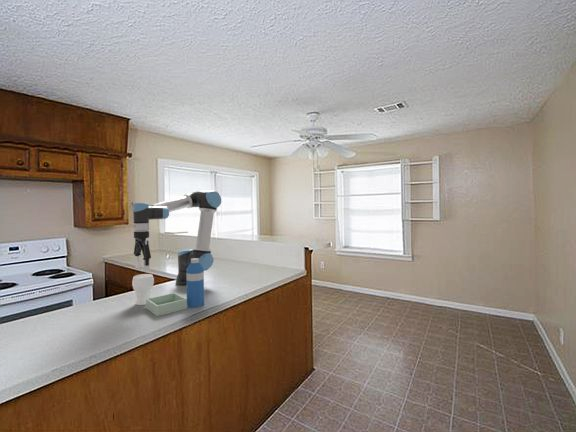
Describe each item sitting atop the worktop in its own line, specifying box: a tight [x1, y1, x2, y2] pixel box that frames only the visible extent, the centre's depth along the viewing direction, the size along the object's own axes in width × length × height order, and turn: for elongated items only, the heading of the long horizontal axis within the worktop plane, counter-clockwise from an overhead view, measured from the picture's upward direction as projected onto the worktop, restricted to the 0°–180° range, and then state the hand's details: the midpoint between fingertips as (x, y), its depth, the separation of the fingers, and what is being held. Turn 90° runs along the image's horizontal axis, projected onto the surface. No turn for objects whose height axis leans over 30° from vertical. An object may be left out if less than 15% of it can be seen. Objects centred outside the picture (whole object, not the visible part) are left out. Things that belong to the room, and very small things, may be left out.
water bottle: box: [186, 258, 205, 309], centre depth 156 cm, size 9×9×25 cm
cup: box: [131, 273, 155, 306], centre depth 159 cm, size 11×11×15 cm
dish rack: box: [145, 292, 188, 317], centre depth 151 cm, size 15×15×5 cm
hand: (142, 269), depth 159 cm, fingers open, 13 cm apart
